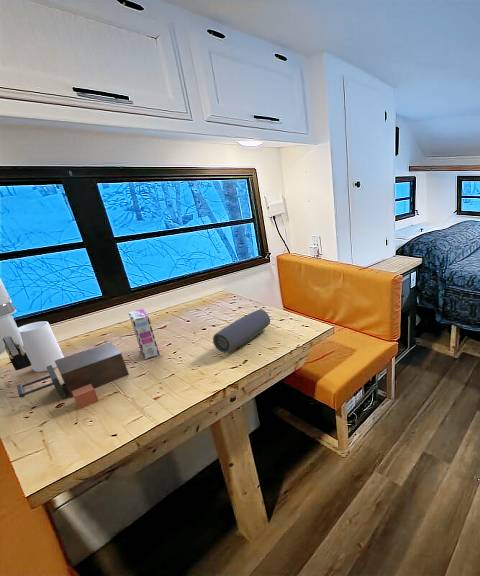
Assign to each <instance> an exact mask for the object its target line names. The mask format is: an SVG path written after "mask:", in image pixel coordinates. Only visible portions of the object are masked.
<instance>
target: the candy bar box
mask: <svg viewBox="0 0 480 576" xmlns="http://www.w3.org/2000/svg"><path fill="white" fill-rule="evenodd" d="M128 316H129V319H130V321H131V326H132V329H133V331H134V336H135V338H136V341H137V344H138V347H139V350H140V352H141V354H142V357H143V358H144V360H149V359H152V358H156V357H158V356H160V355H161V354H160V351H159V347H158V344H157V341H156V338H155V334H154V331H153V328H152V324H151V321H150V317H149V316H148V315H147V313H146V311H145V310H144V309H143V308H141V309H137V310H133V311H130V312H128Z"/></svg>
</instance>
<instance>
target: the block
mask: <svg viewBox="0 0 480 576" xmlns="http://www.w3.org/2000/svg"><path fill="white" fill-rule="evenodd" d="M71 392H72V394H73V396H74V397H73V398H74V400H75V402H76V404H77V407H78V409H79V410H81V409H83V408H86V407H89V406H90V405H93V404H95V403H98V402H99V401H100V400H99V397H98V395H97V393H96V391H95V388H93V387H92V385H91V384H89V385H86V386H84V387H81V388H78V389H76V390H73V391H71Z"/></svg>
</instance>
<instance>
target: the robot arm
mask: <svg viewBox="0 0 480 576" xmlns="http://www.w3.org/2000/svg"><path fill="white" fill-rule="evenodd" d="M17 311H18V310H17V308H16V306H15V305H14V302H13V301H12V299H11V296H10V295H9V292H8V291H7V289H6V287H5V285H4V283H3V281H2V279H1V278H0V355H2V354H3V353H6V354H7V356H8V357H9V362H10V363H11V364H12V366H13V368H14V370H15V371H19V370H22V369H27V368H28V367H32V366H31V362H30V360H29V358H28V356H27V354H26V352H24V350H23V348H22V347H23V342H22V338H21V334H20V332H19V329H18V328H19V327H18V325H17V323H16V321H15V319H14V316H13V314H16V313H17Z"/></svg>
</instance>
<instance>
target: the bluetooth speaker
mask: <svg viewBox="0 0 480 576" xmlns="http://www.w3.org/2000/svg"><path fill="white" fill-rule="evenodd" d="M270 324H271V318H270V315H269V314H268V312H267V311H265V310H264V309H256V310H254V311H252V312H249V313H248V314H246V315H245V316H242V317H241V318H239V319H237V320H235V321H233V322H231V323H230V324H228V325H227V326H225V327H224V328H222V329H220V330H219V331H218V332H216V333H215V334H214V335H213V336H212V343H213V345H214V347H215V349H217V350H218V351H219V352H221V353H225V354H227V353H229V352H232V351H233V350H235V349H237V348H239V349H240V348H241V347H243V346H244V345H246V344H248V343H249V342H252V340H254V339H255V338H256V337H257V335H258V334H259V333H261V332H262V331H264V330H265V329H266V328H267V327H268V326H270Z"/></svg>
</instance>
